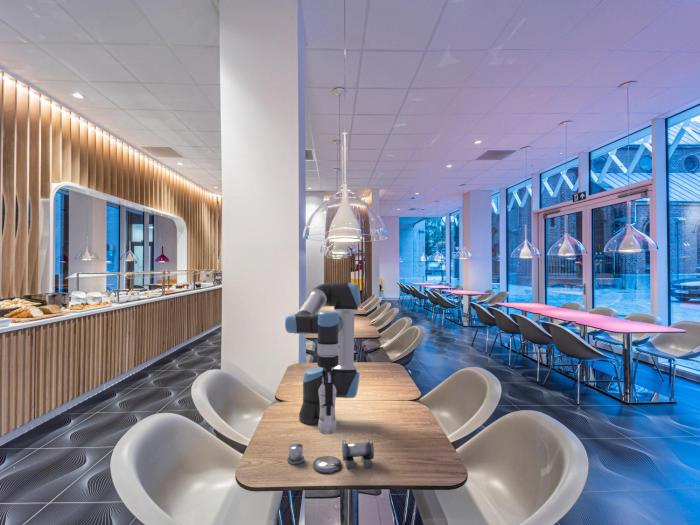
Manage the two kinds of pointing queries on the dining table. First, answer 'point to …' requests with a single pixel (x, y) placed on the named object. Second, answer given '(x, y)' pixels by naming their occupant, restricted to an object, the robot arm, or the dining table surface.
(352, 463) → the grey metal parts
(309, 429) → the dining table surface
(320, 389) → the plastic bottle
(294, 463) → the metal thimble
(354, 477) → the dining table surface
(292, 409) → the dining table surface
